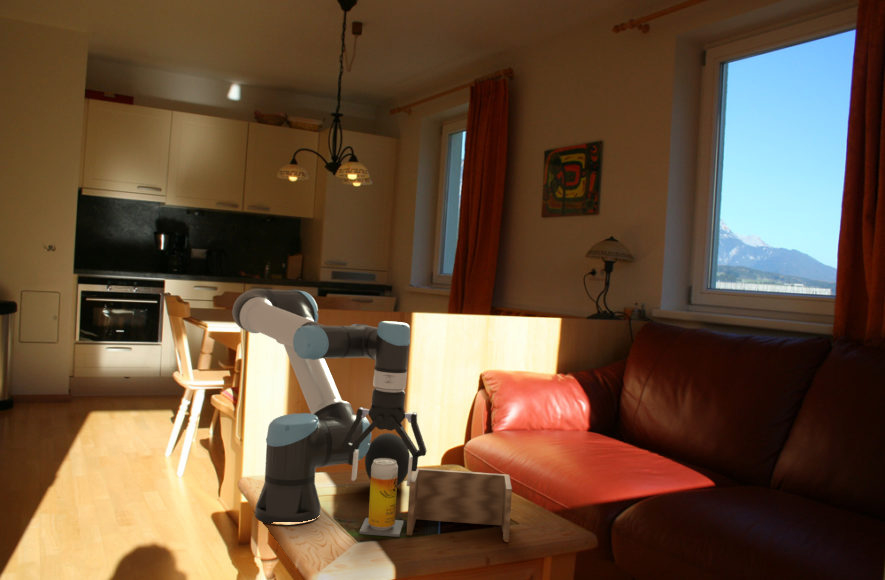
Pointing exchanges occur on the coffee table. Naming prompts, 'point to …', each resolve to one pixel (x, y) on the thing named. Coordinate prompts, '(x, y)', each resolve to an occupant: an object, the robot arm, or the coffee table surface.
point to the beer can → (383, 493)
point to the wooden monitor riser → (460, 498)
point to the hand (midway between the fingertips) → (381, 481)
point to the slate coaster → (392, 531)
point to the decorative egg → (389, 454)
